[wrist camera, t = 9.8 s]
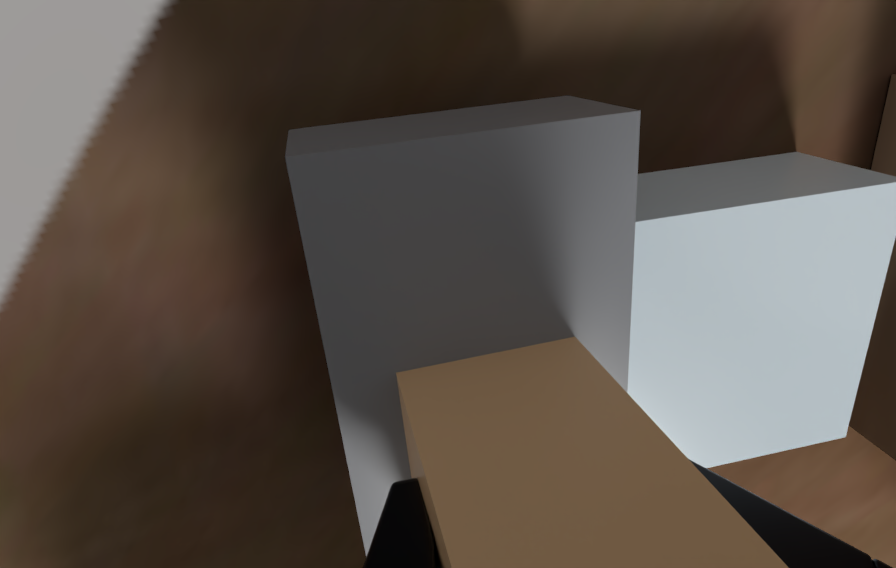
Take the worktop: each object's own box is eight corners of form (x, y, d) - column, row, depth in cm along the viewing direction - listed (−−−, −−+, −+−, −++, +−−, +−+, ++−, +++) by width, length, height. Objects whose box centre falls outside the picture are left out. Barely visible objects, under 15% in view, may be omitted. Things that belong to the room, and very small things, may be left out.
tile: (791, 150, 13) (910, 180, 11) (756, 368, 16) (845, 437, 13) (546, 184, 13) (608, 226, 10) (549, 409, 15) (599, 491, 12)
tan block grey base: (568, 95, 10) (1716, 336, 2) (569, 507, 15) (946, 1164, 6) (288, 129, 10) (198, 818, 1) (372, 558, 14) (491, 1409, 5)
